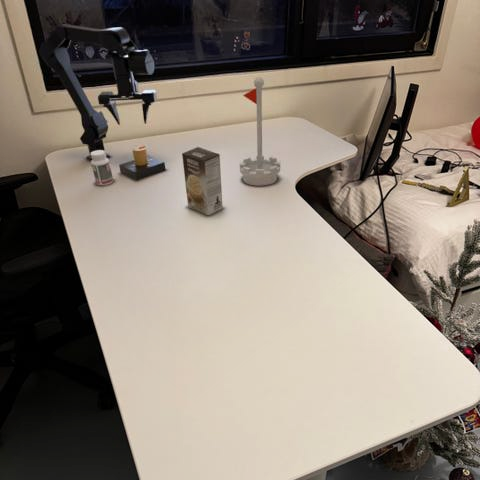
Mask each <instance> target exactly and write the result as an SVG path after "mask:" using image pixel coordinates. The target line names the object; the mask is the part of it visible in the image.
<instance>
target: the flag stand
mask: <svg viewBox="0 0 480 480" xmlns="http://www.w3.org/2000/svg"><path fill="white" fill-rule="evenodd" d="M264 85H265V81H264V78H262V77H261V76H258V77H256V78H255V79H254V81H253V86H254V87H255V88H254V89H252V90H249V91H248V92H246V93H244V94H243V95H242V96H243V97H245V98H246V99H248V100H249V101H250V102H252V103H254V104H255V105H256V148H257V149H256V151H257V152H256V153H257V154H256V155H255V159H252V158H251V157H250V156H247V157H245V158H243V161H239V173H240V174H241V175H242V177H243V178H242V180H243V182H244V183H245V184H247V185H250V186H256V187H257V186H258V187H261V186H268V185H272V184H275V182H276V181H278V174H279V173H280V172H281V160H278V159H277V157H274V156H269V158H265V155H263V97H262V96H263V93H262V92H263V91H262V88H263V86H264Z"/></svg>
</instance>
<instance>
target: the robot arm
mask: <svg viewBox="0 0 480 480" xmlns="http://www.w3.org/2000/svg"><path fill="white" fill-rule="evenodd" d="M72 41H74V42H81V43H87V44H92V45H93V44H94V45H98V46H101V47H102V48H103V49H105V50H107V53H106V54H105V56H104V58H105V59H108V60H111V62H112V69H113V73H114V78H115V79H114V83H115V84H116V85H115V86H116V90H117V93H114V92H113V91H101V92H100V93H99V94H98V96H97V101H98V105H100V106H101V105H102V107H103V108H106V109H107V110H108V112H109V113H110V114H111V116H112V117H113V118H114V120H115V122H116V124H117V125H118V126H120V125H121V120H120V116H119V113H118V108H117V101H138V100H139V101H140V100H141V101H142V103H141V107H142V116H143V122H144V125H146V124H147V122H148V114H149V109H150V106H152V105H153V103H155V102H156V101H157V100H158V95H157V91H156V90H155V89H144V90H143V91H142V92H140V93H139V91H140V90H139V82H138V81H137V80H135V78H134V75H145V76H146V75H147V76H149V75H151V76H152V75H153V73H154V71H155V61H154V59H153V56H152V54H150V50H149V49H143V50H141V49H140V50H139V49H138V47H137V45H136V44H135V43H134V42H133V40H132V39H131V38H130V35H129V33H128V31H127V30H126V28H125V27H121V26H120V27H118V26H117V27H109V28H102V29H101V28H93V27H87V26H81V25H74V24H70V23H63V24H60V25H58V26H57V27H56V28H55V30H54V31H53V32H52V33H51V34H50V35H49V36H48V37H47V38H46V39H45V41H43V42H41V44H39V45H40V46H39V51H38V52H39V54H40V57H41V58H42V59H43V61H44V62H45V63H46V65H47V66H48V67H49V68H50V69H52V70H53V71H54V72H56V74H57V75H58V77H59V79H60V81H61V82H62V85H63V86H64V88H65V90H66V91H67V94H69V97H70V98H71V101H72V102H73V104H74V105H75V107H76V109H77V111H78V113H79V114H80V120H81V127H82V129H83V133H82V134H81V136H80V138H79V140H80V141H81V143H82V144H83V145H87V149H88V153H89V154H88V155H87V156H86V159H88V160H90V161H92V158H91V152H93V151H96V150H104V151H105V152H106V149H105V145H104V139H106V138H107V134H108V131H109V125H108V122H109V121H108V120H107V119H106V118H105V114H104V113H103V112H102V111H97V110H96V109H95V108H94V107H93V105H92V103H91V101H90V100H89V98H88V96H87V94H86V92H85V91H84V89H83V87H82V85H81V83H80V82H79V79H78V78H77V76H76V75H75V72H74V71H73V68H72V67H71V59H70V55H69V52H68V49H69V47H70V45H71V42H72ZM106 158H108V159H109V158H111V155H109V154H107V153H106Z"/></svg>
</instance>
